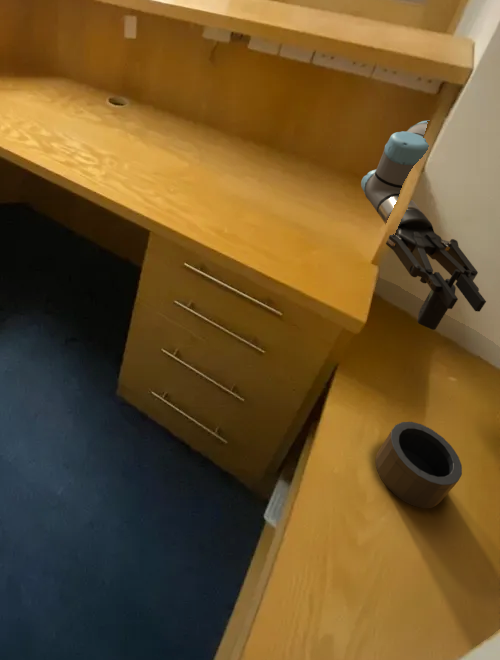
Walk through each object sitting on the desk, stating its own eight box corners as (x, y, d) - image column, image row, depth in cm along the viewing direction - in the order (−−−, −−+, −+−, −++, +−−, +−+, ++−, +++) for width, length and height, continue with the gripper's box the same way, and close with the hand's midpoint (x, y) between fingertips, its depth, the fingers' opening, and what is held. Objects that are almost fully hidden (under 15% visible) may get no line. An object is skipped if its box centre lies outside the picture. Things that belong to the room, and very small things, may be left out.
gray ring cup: (430, 455, 91) (449, 431, 87) (451, 517, 83) (472, 493, 79) (369, 439, 94) (384, 414, 90) (383, 497, 86) (400, 473, 82)
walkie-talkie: (419, 308, 105) (449, 256, 97) (438, 317, 103) (470, 264, 95) (416, 324, 102) (447, 270, 94) (436, 333, 100) (469, 279, 92)
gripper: (439, 237, 113) (507, 323, 93) (359, 230, 115) (409, 314, 95) (453, 211, 109) (527, 295, 89) (370, 204, 111) (424, 286, 91)
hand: (466, 304), depth 92 cm, fingers closed on walkie-talkie, 4 cm apart
